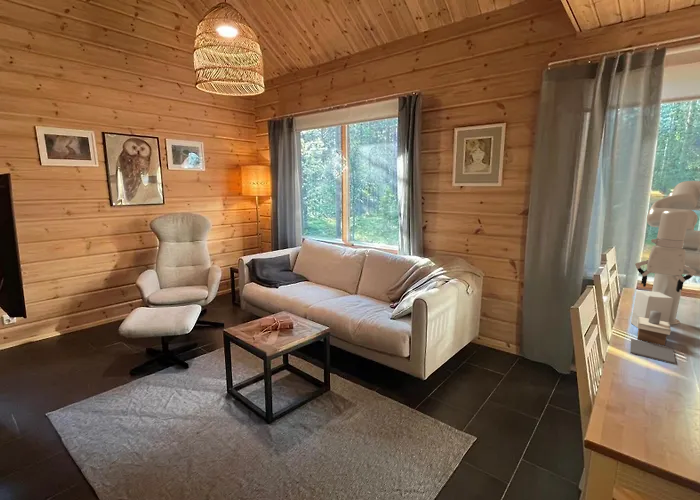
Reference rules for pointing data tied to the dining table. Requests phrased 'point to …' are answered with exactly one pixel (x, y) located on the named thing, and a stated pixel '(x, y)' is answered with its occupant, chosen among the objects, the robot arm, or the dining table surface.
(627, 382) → the dining table surface
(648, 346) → the mat
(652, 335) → the storage box
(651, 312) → the lid
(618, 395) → the dining table surface
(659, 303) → the supplement box
